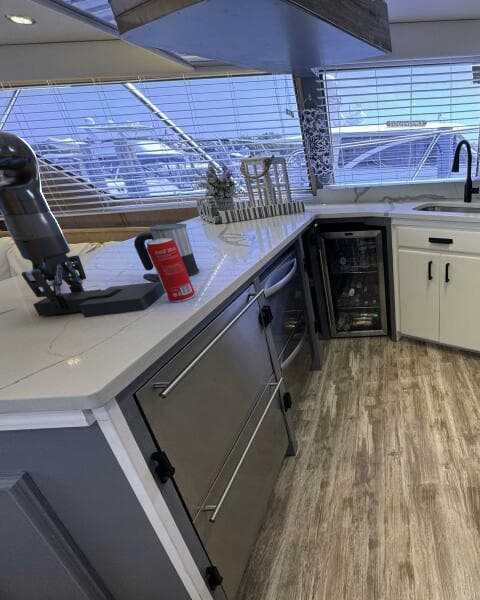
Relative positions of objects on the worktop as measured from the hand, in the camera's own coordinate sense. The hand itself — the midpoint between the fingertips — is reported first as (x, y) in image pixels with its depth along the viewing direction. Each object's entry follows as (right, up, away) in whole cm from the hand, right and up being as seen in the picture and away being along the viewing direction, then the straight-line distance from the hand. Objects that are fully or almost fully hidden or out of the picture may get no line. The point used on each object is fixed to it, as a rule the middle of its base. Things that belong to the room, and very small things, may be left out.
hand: (72, 304), depth 76 cm
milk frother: (+11, +7, +20) cm, 24 cm away
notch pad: (+11, 0, +3) cm, 11 cm away
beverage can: (+23, +1, +4) cm, 23 cm away
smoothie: (-11, +2, +10) cm, 16 cm away
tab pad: (+2, -1, +1) cm, 2 cm away
